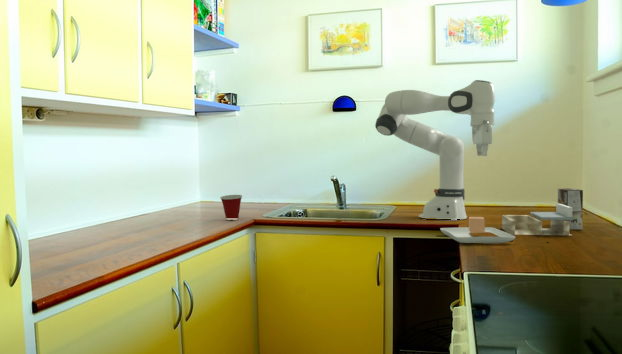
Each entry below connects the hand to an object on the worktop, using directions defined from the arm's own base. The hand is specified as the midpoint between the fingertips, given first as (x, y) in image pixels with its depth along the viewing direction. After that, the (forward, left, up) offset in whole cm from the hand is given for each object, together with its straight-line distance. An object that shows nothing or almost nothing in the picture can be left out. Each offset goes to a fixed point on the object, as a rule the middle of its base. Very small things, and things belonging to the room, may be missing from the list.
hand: (481, 155), depth 193 cm
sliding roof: (+25, -5, -24) cm, 35 cm away
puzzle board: (+19, -5, -30) cm, 36 cm away
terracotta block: (-5, -18, -28) cm, 33 cm away
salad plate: (-5, -18, -31) cm, 36 cm away
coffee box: (+37, +10, -31) cm, 49 cm away
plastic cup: (-113, +24, -31) cm, 120 cm away
